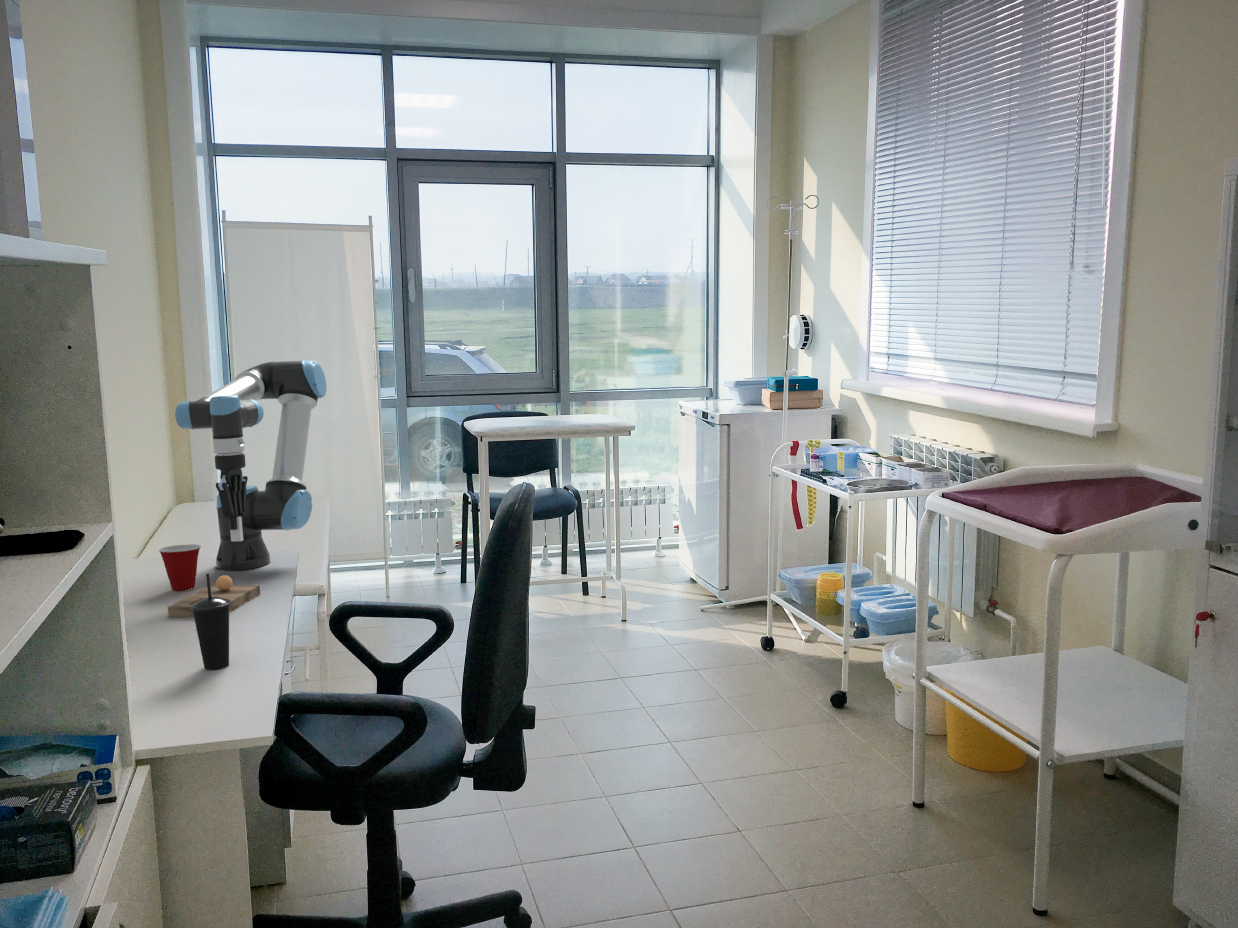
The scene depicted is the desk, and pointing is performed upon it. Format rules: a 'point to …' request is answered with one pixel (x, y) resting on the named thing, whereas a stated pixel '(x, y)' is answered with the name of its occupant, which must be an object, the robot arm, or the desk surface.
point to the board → (234, 594)
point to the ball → (224, 583)
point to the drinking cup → (212, 629)
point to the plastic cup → (181, 565)
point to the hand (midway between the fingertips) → (237, 540)
